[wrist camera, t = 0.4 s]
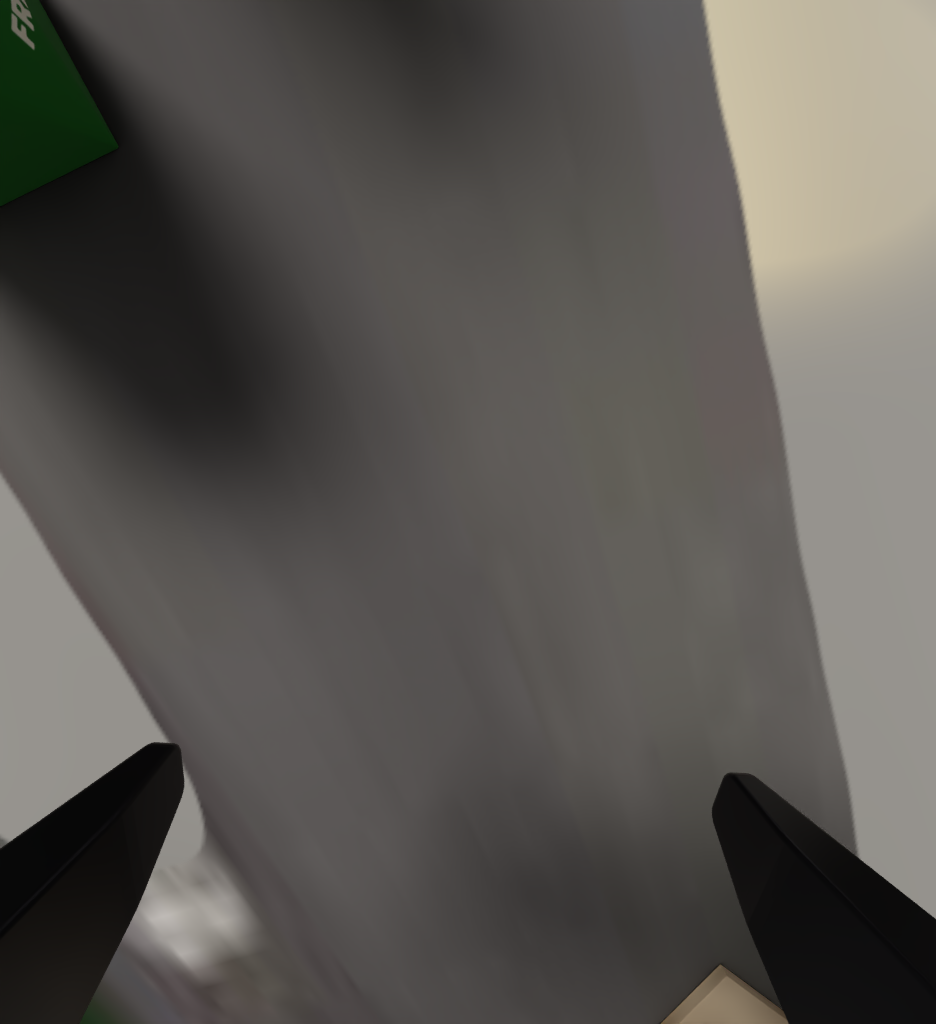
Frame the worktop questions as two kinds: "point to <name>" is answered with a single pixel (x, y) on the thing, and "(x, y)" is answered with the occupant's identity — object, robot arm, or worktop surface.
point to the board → (726, 1003)
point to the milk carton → (42, 104)
